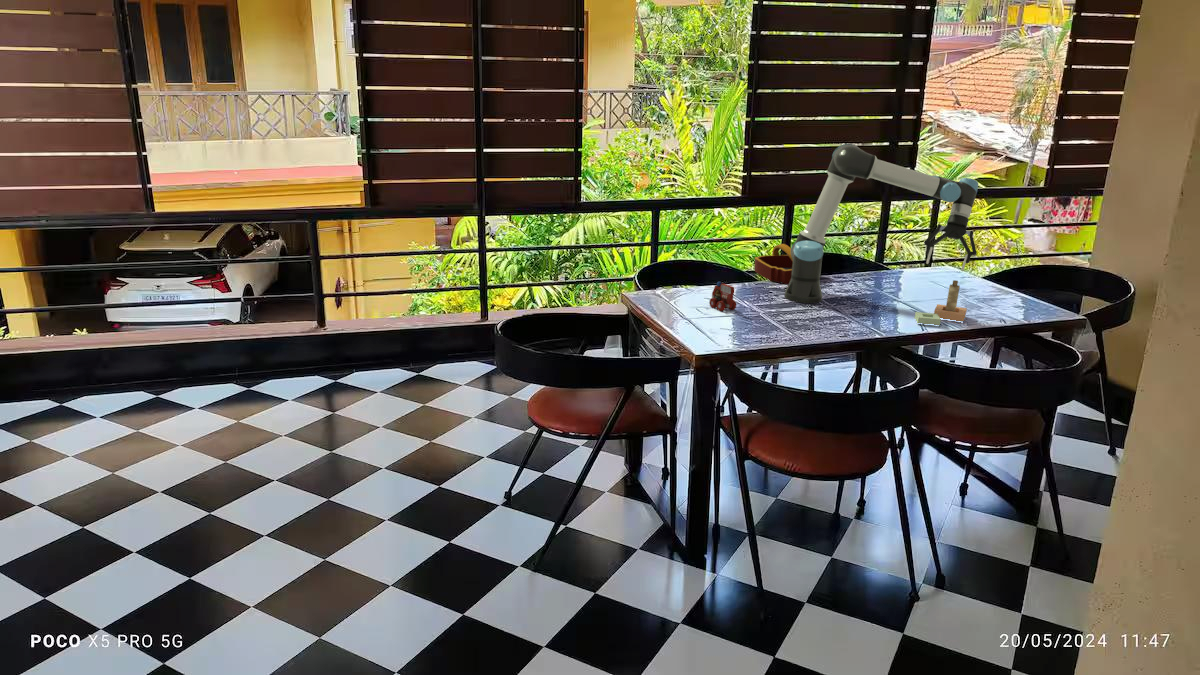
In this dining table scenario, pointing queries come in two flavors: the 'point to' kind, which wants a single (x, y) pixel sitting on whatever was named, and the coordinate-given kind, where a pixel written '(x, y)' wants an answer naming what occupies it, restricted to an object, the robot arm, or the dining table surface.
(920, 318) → the green square ring
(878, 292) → the dining table surface
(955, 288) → the peg block
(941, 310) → the orange square frame
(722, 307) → the toy fire truck
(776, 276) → the decorative basket
